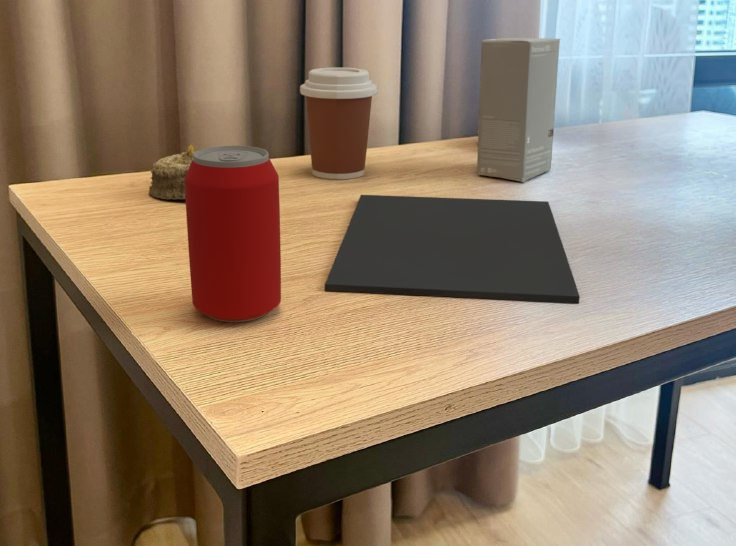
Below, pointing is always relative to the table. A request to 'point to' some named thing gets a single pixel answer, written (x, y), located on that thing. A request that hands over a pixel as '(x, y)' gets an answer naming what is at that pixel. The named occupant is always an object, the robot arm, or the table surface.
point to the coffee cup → (338, 120)
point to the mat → (453, 250)
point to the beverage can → (233, 232)
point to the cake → (171, 175)
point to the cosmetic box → (517, 106)
